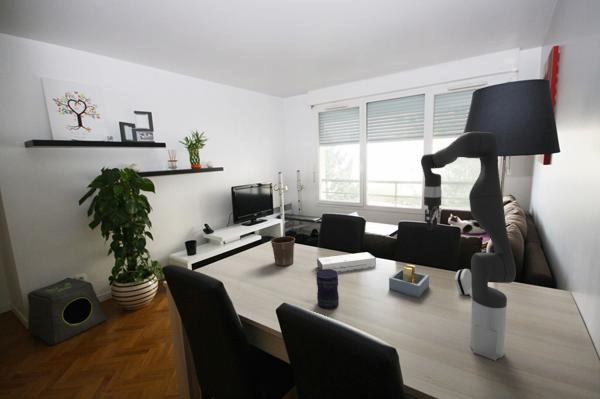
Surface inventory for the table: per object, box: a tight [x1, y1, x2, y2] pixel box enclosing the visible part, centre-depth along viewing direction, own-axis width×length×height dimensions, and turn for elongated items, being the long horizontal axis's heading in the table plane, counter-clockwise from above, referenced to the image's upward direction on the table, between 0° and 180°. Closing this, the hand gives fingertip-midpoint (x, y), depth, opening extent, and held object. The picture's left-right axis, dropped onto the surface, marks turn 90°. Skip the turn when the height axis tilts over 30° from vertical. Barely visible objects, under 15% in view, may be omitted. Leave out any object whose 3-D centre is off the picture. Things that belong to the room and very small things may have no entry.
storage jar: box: [316, 269, 340, 311], centre depth 121 cm, size 10×10×15 cm
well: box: [388, 268, 430, 299], centre depth 133 cm, size 14×14×6 cm
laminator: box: [316, 251, 377, 273], centre depth 164 cm, size 34×12×6 cm, turn 101°
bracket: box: [402, 264, 416, 284], centre depth 132 cm, size 5×4×10 cm
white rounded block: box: [454, 268, 472, 298], centre depth 130 cm, size 17×5×10 cm, turn 138°
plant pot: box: [270, 236, 296, 266], centre depth 175 cm, size 16×16×16 cm
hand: (432, 228), depth 130 cm, fingers open, 8 cm apart
